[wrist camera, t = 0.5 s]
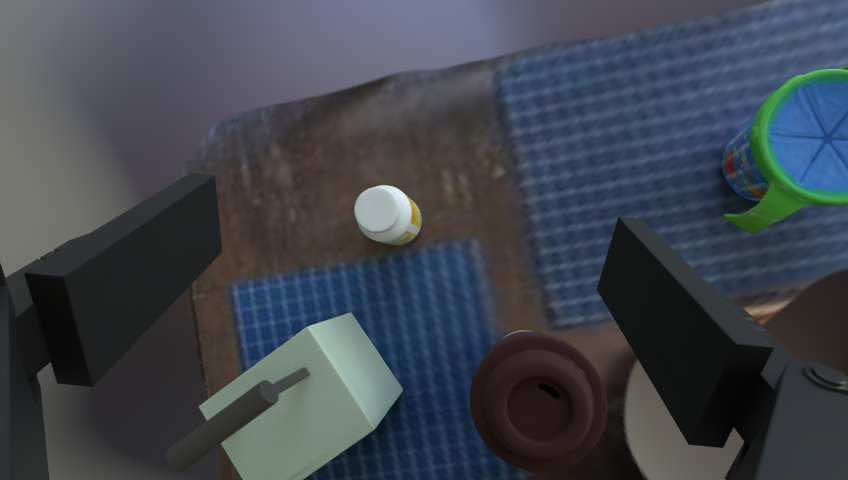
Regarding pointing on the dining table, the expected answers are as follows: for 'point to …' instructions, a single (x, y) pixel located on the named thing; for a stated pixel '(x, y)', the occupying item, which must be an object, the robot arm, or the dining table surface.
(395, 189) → the supplement bottle
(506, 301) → the dining table surface
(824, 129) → the snack cup
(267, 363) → the pale green square box
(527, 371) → the coffee cup
